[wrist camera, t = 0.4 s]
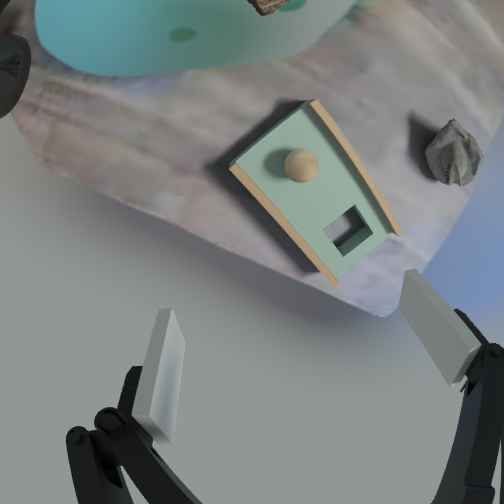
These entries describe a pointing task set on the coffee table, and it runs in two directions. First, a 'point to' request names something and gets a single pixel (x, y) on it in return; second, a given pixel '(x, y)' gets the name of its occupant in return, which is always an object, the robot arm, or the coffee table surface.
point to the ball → (301, 166)
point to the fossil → (454, 155)
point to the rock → (266, 5)
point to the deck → (316, 188)
